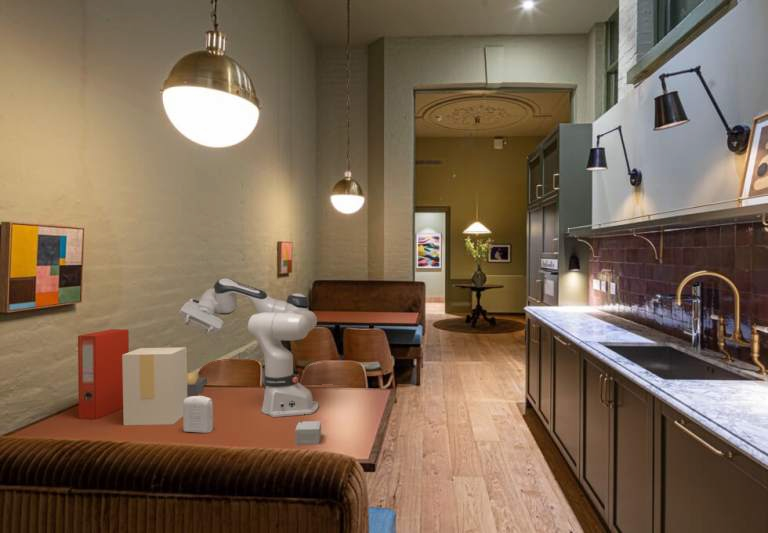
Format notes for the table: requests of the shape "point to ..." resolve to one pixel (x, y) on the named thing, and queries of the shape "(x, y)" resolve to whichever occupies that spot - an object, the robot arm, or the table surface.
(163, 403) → the carton
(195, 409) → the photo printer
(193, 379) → the gold knob on base
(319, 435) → the small box
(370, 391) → the table surface
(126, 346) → the file binder
